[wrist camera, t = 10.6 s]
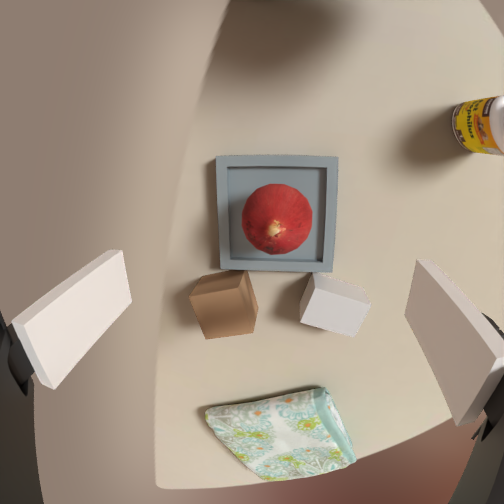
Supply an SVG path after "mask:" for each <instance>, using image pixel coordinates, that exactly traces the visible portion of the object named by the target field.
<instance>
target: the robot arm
mask: <svg viewBox="0 0 504 504" xmlns="http://www.w3.org/2000/svg"><path fill="white" fill-rule="evenodd" d="M130 303H132V299H131V294H130V289H129V285H128V280H127V274H126V270H125V264H124V258H123V252H122V250H108V251H107V252H105V253H104V254H102V255H101V256H99V257H98V258H96V259H95V260H93V261H92V262H90V263H89V264H87V265H86V266H84V267H83V268H81V269H80V270H79V271H77V272H76V273H74V274H73V275H71V276H70V277H69V278H67V279H66V280H64V281H63V282H62V283H60V284H59V285H58V286H56V287H55V288H53V289H52V290H51V291H50V292H48V293H47V294H45V295H44V296H43V297H41V298H40V299H39V300H37V301H36V302H35V303H33V304H32V305H31V306H30V307H28V308H27V309H26V310H24V311H23V312H22V313H21V314H19V315H18V316H17V317H16V318H14V319H13V320H12V323H11V324H10V325H9V326H8V327H7V326H6V324H5V322H4V319H3V317H2V314H1V311H0V504H44V502H43V498H42V492H41V487H40V481H39V474H38V466H37V457H36V447H35V433H34V383H33V380H32V378H31V375H32V374H33V373H34V372H35V373H36V375H37V377H38V378H39V380H40V382H41V384H43V385H45V386H47V387H50V388H52V389H54V390H55V389H56V387H57V386H58V385H59V384H60V383H61V381H62V380H63V379H64V378H65V377H66V376H67V374H68V373H69V372H70V371H71V370H72V368H73V367H74V366H75V365H76V364H77V363H78V361H79V360H80V359H81V358H82V357H83V356H84V355H85V353H86V352H87V351H88V350H89V349H90V347H92V345H93V344H94V343H95V342H96V341H97V340H98V339H99V338H100V336H101V335H102V334H103V333H104V332H105V331H106V330H107V328H108V327H109V326H110V325H111V324H112V323H113V322H114V321H115V320H116V319H117V318H118V317H119V315H120V314H121V313H122V312H123V311H124V310H125V309H126V308H127V307H128V306H129V305H130ZM404 315H405V317H406V319H407V321H408V323H409V325H410V326H411V328H412V330H413V332H414V334H415V336H416V338H417V340H418V342H419V344H420V346H421V348H422V350H423V352H424V354H425V356H426V358H427V360H428V362H429V364H430V366H431V368H432V371H433V373H434V375H435V377H436V379H437V381H438V384H439V386H440V388H441V390H442V393H443V395H444V397H445V400H446V402H447V404H448V407H449V409H450V412H451V414H452V417H453V419H454V422H455V424H456V426H461V425H464V424H468V423H472V422H474V421H475V420H476V419H477V418H478V416H479V415H480V413H481V412H482V410H483V409H484V411H485V413H486V415H487V417H486V419H485V420H484V421H483V423H482V424H481V426H480V427H479V428H478V430H477V431H476V432H475V433H474V435H473V437H472V438H471V439H473V440H474V438H475V437H476V436H477V435H478V434H479V435H478V438H477V441H476V443H475V446H474V448H473V451H472V454H471V456H470V459H469V461H468V464H467V466H466V468H465V470H464V473H463V475H462V477H461V479H460V481H459V483H458V485H457V488H456V489H455V492H454V493H453V496H452V497H451V499H450V501H449V503H448V504H504V333H503V332H502V331H501V330H499V327H498V326H497V325H496V323H495V322H494V321H493V320H492V319H491V318H489V317H488V316H486V315H485V314H483V313H481V312H480V311H479V310H478V308H477V307H476V306H475V305H474V304H473V303H472V302H471V301H470V300H469V298H468V297H467V296H466V295H465V294H464V293H463V292H462V291H461V290H460V289H459V288H458V287H457V285H456V284H455V283H454V282H453V281H452V280H451V279H450V278H449V277H448V276H447V275H446V274H445V273H444V272H443V271H442V270H441V269H440V268H439V267H438V266H437V265H436V264H435V263H434V262H433V261H432V260H420V259H416V265H415V270H414V275H413V280H412V285H411V289H410V294H409V298H408V302H407V306H406V310H405V314H404Z"/></svg>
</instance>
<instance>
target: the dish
mask: <svg viewBox="0 0 504 504" xmlns="http://www.w3.org/2000/svg"><path fill="white" fill-rule="evenodd" d="M216 181H217V207H218V230H219V249H220V267H221V269H233V270H261V271H293V272H331V273H332V269H333V258H334V245H335V230H336V213H337V190H338V157H332V156H308V155H230V156H216ZM268 184H285V185H288V186H290V187H293V188H295V189H297V190H298V191H299V192H300V193H302V194H303V195H304V196H305V197H306V198H307V199H308V202H309V204H310V207H311V209H312V211H313V213H312V228H311V230H310V233H309V235H308V238H307V239H306V240H305V241H304V242H303V243H302V244H301V245H300V246H299V247H298V248H297V249H295V250H293V251H291V252H289V253H286V254H278V255H270V254H267V253H265V252H263V251H260V250H258V249H256V248H255V247H254V246H253V245H252V244H251V243H250V242H249V241H248V240H247V239H246V236H245V234H244V231H243V229H242V226H241V224H242V210H243V208H244V205H245V203H246V200H247V198H248V197H249V196H250V195H251V194H252V193H253V192H254V191H255V190H256V189H257V188H260V187H262V186H265V185H268Z"/></svg>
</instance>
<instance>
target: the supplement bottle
mask: <svg viewBox="0 0 504 504" xmlns="http://www.w3.org/2000/svg"><path fill="white" fill-rule="evenodd" d="M452 126H453V131H454V134H455V136H456V138H457V140H458V142H459V143H460V144H461V145H462V146H463V147H464V148H465V149H467V150H468V151H471V152H475V153H485V154H493V155H500V156H504V96H497V97H490V98H484V99H479V100H473V101H468V102H464V103H461V104H459V105H458V106H457V107H456V109H455V110H454V113H453V117H452Z"/></svg>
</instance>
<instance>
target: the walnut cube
mask: <svg viewBox="0 0 504 504" xmlns="http://www.w3.org/2000/svg"><path fill="white" fill-rule="evenodd" d="M189 299H190V302H191V304H192V307H193V310H194V312H195V314H196V317H197V319H198V322H199V324H200V327H201V329H202V332H203V334H204V336H205V339H213V338H220V337H228V336H235V335H242V334H249V333H253V331H254V326H255V321H256V317H257V312H258V305H257V301H256V298H255V295H254V291H253V288H252V285H251V281H250V278H249V275H248V271H247V270H230V271H225V272H220V273H215V274H210V275H205V276H202V278H201V279H200V281H199V282H198V284H197V285H196V286H195V288H194V289H193V291H192V292H191V294H190V295H189Z"/></svg>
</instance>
